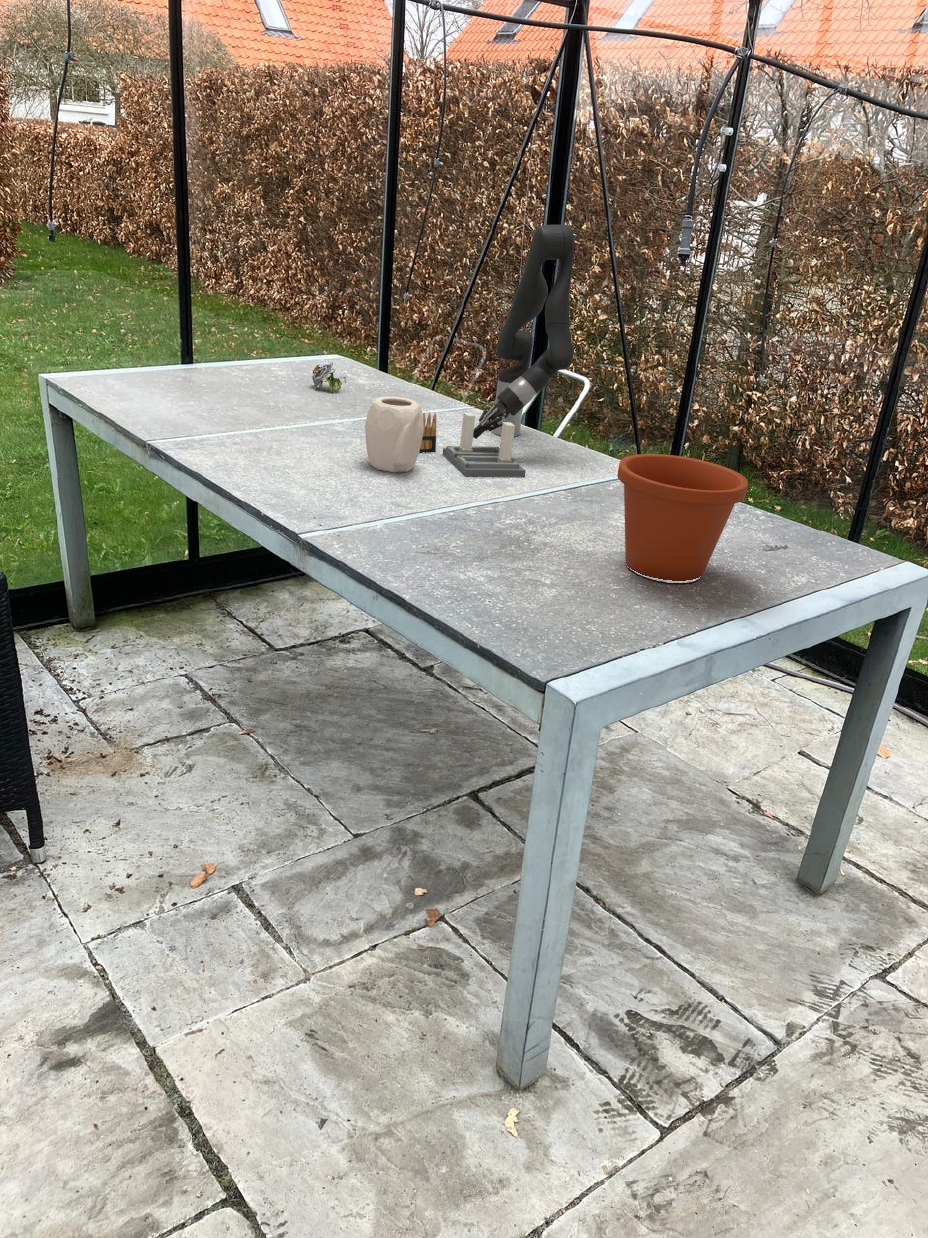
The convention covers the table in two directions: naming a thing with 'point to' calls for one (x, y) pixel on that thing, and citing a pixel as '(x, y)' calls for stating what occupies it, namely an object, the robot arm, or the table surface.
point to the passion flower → (326, 377)
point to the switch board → (482, 462)
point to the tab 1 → (467, 433)
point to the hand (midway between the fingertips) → (472, 436)
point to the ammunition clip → (429, 435)
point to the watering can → (394, 433)
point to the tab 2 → (506, 443)
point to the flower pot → (675, 512)
